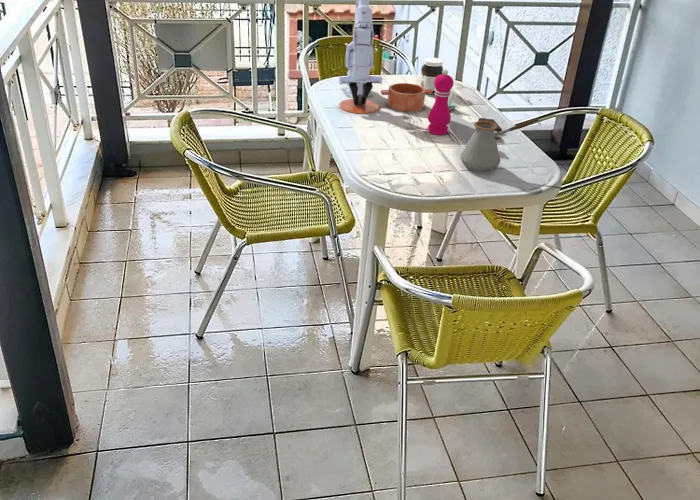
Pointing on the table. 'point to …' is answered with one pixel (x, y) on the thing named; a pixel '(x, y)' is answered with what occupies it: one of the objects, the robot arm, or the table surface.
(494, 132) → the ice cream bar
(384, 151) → the table surface
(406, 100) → the pot
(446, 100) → the pepper mill
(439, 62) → the spread jar
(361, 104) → the lid
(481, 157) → the coffee pot
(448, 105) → the pacifier
